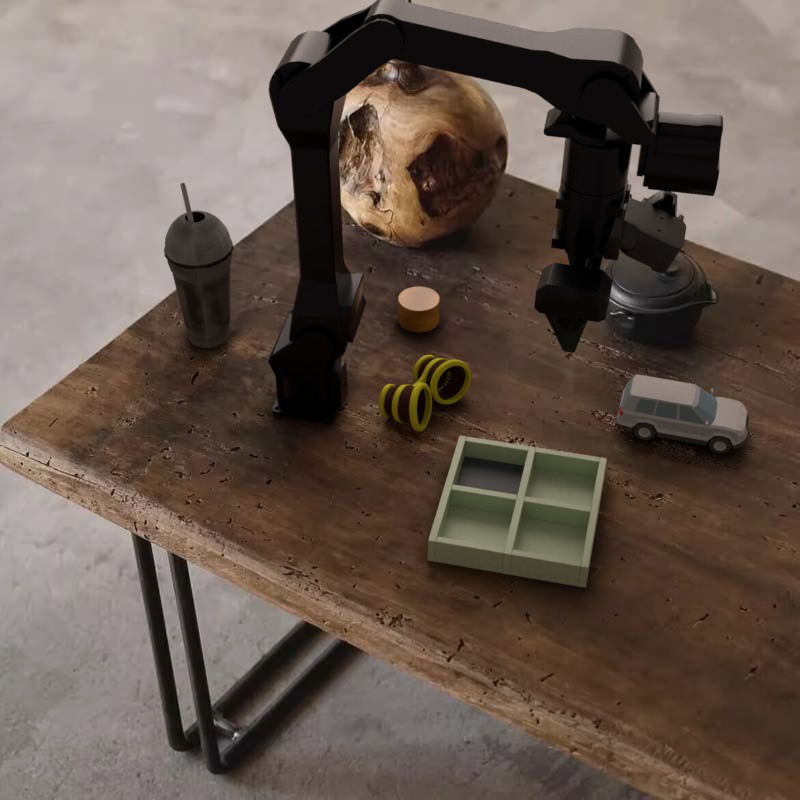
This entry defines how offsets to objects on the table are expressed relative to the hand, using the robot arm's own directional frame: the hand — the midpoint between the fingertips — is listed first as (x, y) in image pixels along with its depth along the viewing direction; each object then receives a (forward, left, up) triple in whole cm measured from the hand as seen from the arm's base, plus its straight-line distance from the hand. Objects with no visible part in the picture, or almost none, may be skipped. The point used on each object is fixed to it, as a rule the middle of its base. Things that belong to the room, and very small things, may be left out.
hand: (576, 321), depth 125 cm
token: (-18, +15, -14) cm, 28 cm away
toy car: (+12, +3, -14) cm, 18 cm away
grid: (-2, -13, -14) cm, 19 cm away
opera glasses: (-15, 0, -14) cm, 20 cm away
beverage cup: (-40, +7, -14) cm, 43 cm away
